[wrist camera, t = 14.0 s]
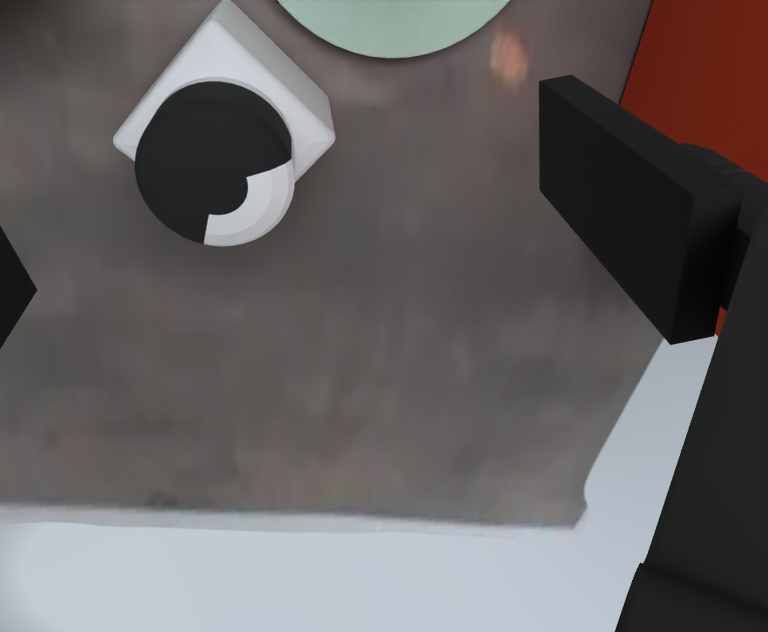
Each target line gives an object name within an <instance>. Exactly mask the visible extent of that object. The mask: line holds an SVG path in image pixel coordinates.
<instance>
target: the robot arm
mask: <svg viewBox="0 0 768 632" xmlns="http://www.w3.org/2000/svg"><path fill="white" fill-rule="evenodd" d="M539 157H540V191H541V192H542V193H543V195H544V196H545V197H546V198H547V199H548V201H549V202H550V203H551V204H552V205H553V207H554V208H555V209H556V210H557V211H558V212H559V214H560V215H561V216H562V217H563V218H564V220H565V221H566V222H567V223H568V224H569V225H570V227H571V228H572V229H573V230H574V231H575V233H576V234H577V235H578V236H579V237H580V239H581V240H582V241H583V242H584V243H585V244H586V246H587V247H588V248H589V249H590V250H591V252H592V253H593V254H594V255H595V256H596V257H597V259H598V260H599V261H600V262H601V263H602V265H603V266H604V267H605V268H606V269H607V270H608V272H609V273H610V274H611V275H612V276H613V278H614V279H615V280H616V281H617V282H618V284H619V285H620V286H621V287H622V288H623V289H624V291H625V292H626V293H627V294H628V295H629V297H630V298H631V299H632V300H633V301H634V302H635V304H636V305H637V306H638V307H639V308H640V310H641V311H642V312H643V313H644V314H645V315H646V317H647V318H648V319H649V320H650V321H651V323H652V324H653V325H654V326H655V327H656V329H657V330H658V331H659V332H660V333H661V334H662V336H663V337H664V338H665V339H666V340H667V342H668V343H669V344H670V345H673V344H678V343H683V342H688V341H693V340H698V339H702V338H707V337H712V336H714V335H715V330H716V325H717V320H718V315H719V310H720V306H721V307H722V308H723V309H724V310H725V311H726V312H727V313H726V316H725V319H724V322H723V325H722V328H721V331H720V334H719V337H718V340H717V343H716V347H715V350H714V353H713V356H712V359H711V362H710V365H709V368H708V371H707V374H706V377H705V380H704V383H703V386H702V389H701V392H700V396H699V398H698V402H697V405H696V408H695V411H694V414H693V417H692V420H691V423H690V426H689V429H688V432H687V435H686V438H685V441H684V445H683V447H682V450H681V453H680V457H679V460H678V463H677V466H676V469H675V472H674V475H673V478H672V481H671V484H670V487H669V490H668V493H667V496H666V500H665V503H664V506H663V509H662V511H661V515H660V518H659V521H658V524H657V527H656V530H655V533H654V536H653V539H652V542H651V545H650V548H649V551H648V554H647V557H646V559H645V561H644V563H640V564H639V566H638V568H637V570H636V572H635V575H634V577H633V580H632V583H631V586H630V589H629V591H628V594H627V597H626V600H625V603H624V606H623V609H622V612H621V615H620V618H619V621H618V624H617V627H616V630H615V632H768V183H766V182H765V181H763V180H761V179H760V178H758V177H757V176H755V175H753V174H752V173H750V172H748V171H744V169H743V168H742V167H740V166H738V165H737V164H735V163H733V162H731V163H730V162H729V159H727V158H725V157H724V156H722V155H720V154H719V153H717V152H715V151H714V150H712V149H708V148H704V147H701V146H697V145H694V144H690V143H683V144H678V143H677V142H675V141H674V140H672V139H670V138H669V137H667V136H666V135H664V134H663V133H661V132H660V131H658V130H656V129H655V128H653V127H652V126H650V125H649V124H647V123H646V122H644V121H642V120H641V119H639V118H638V117H636V116H635V115H633V114H632V113H630V112H628V111H627V110H625V109H624V108H622V107H621V106H619V105H618V104H616V103H614V102H613V101H611V100H610V99H608V98H607V97H605V96H604V95H602V94H601V93H599V92H597V91H596V90H594V89H593V88H591V87H590V86H588V85H587V84H585V83H583V82H582V81H580V80H579V79H577V78H576V77H574V76H573V75H567V76H562V77H557V78H552V79H547V80H542V81H539ZM36 291H37V288H36V287H35V285H34V283H33V281H32V280H31V278H30V276H29V275H28V273H27V271H26V269H25V268H24V266H23V264H22V263H21V261H20V259H19V257H18V256H17V254H16V252H15V250H14V249H13V247H12V245H11V244H10V242H9V240H8V238H7V237H6V235H5V233H4V232H3V230H2V228H1V226H0V348H1V347H2V345H3V344H4V342H5V341H6V339H7V337H8V336H9V334H10V333H11V331H12V329H13V328H14V326H15V325H16V323H17V322H18V320H19V318H20V317H21V315H22V314H23V312H24V310H25V309H26V307H27V306H28V304H29V303H30V301H31V299H32V298H33V296H34V295H35V293H36Z"/></svg>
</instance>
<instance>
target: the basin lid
mask: <svg viewBox="0 0 768 632" xmlns="http://www.w3.org/2000/svg"><path fill="white" fill-rule="evenodd" d="M278 1H279V3H280V4H281V5H282V6H283V8H284V9H285V10H287V11H288V12H289V13H290V14H291V15H292V16H293V17H294V18H295V19H296V20H297V21H298V22H299V23H300V24H302V25H303V26H304V27H306V28H307V29H309V30H310V31H311V32H313V33H314V34H315V35H317V36H319V37H320V38H322V39H324V40H326V41H328V42H329V43H331V44H333V45H335V46H338V47H340V48H343V49H345V50H348V51H351V52H353V53H358V54H362V55H366V56H371V57H380V58H409V57H415V56H420V55H425V54H429V53H432V52H435V51H438V50H441V49H444V48H447V47H449V46H451V45H453V44H455V43H457V42H459V41H461V40H463V39H465V38H466V37H468V36H469V35H471V34H472V33H474V32H475V31H477V30H478V29H480V28H481V27H482V26H484V25H485V24H486V23H487V22H488V21H489V20H491V19H492V18H493V17H494V16H495V15H496V14H498V12H499V11H500V10H501V9H502V8H503V7H504V6H505V5H506V4H507V3H508V2H509V1H510V0H278Z"/></svg>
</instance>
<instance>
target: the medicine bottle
mask: <svg viewBox="0 0 768 632" xmlns="http://www.w3.org/2000/svg"><path fill="white" fill-rule="evenodd" d="M334 141H335V132H334V127H333V121H332V115H331V110H330V104H329V99H328V96H327V95H326V94H325V93H324V92H323V91H322V90H321V89H320V88H319V87H318V86H317V85H316V84H315V83H314V82H313V81H312V80H311V79H310V78H309V77H308V76H307V75H306V74H305V73H304V72H303V71H302V70H301V69H300V68H299V67H298V66H297V65H296V64H295V63H294V62H293V61H292V60H291V59H290V58H289V57H288V56H287V55H286V54H285V53H284V52H283V51H282V50H281V49H280V48H279V47H278V46H277V45H276V44H275V43H274V42H273V41H272V40H271V39H270V38H269V37H268V36H267V35H266V34H265V33H264V32H263V31H262V30H261V29H260V28H259V27H258V26H257V25H256V24H255V23H254V22H253V21H252V20H251V19H250V18H249V17H248V16H247V15H246V14H245V13H244V12H243V11H242V10H240V9H239V8H238V7H237V6H236V5H235V4H234V3H233V2H232V1H231V0H221V1H220V2H219V3H218V4H217V6H216V7H215V8H214V9H213V11H212V12H211V13H210V14H209V15H208V17H207V18H206V19H205V20H204V22H203V23H202V24H201V25H200V27H199V28H198V29H197V30H196V31H195V33H194V34H193V35H192V36H191V38H190V39H189V40H188V41H187V43H186V44H185V45H184V46H183V48H182V49H181V50H180V51H179V52H178V54H177V55H176V56H175V57H174V59H173V60H172V61H171V62H170V64H169V65H168V66H167V67H166V68H165V70H164V71H163V72H162V73H161V75H160V76H159V77H158V78H157V80H156V81H155V82H154V83H153V85H152V86H151V87H150V88H149V89H148V91H147V92H146V93H145V94H144V96H143V97H142V98H141V100H140V101H139V102H138V104H137V105H136V107H135V108H134V109H133V111H132V112H131V113H130V115H129V116H128V117H127V119H126V120H125V122H124V123H123V124H122V126H121V127H120V128H119V130H118V131H117V132H116V134H115V135H114V138H113V143H114V145H115V147H116V148H117V149H119V150H120V151H121V152H123V153H124V154H125V155H127V156H128V157H129V158H131V159H132V160H133V161H134V162H135V174H136V180H137V184H138V187H139V190H140V193H141V195H142V197H143V199H144V201H145V202H146V204H147V206H148V207H149V209H150V210H151V211H152V212H153V214H154V215H155V216H156V217H157V218H158V219H159V220H160V221H161V222H162V223H163V224H164V225H165V226H167V227H168V228H169V229H171V230H172V231H174V232H175V233H177V234H179V235H181V236H182V237H184V238H187V239H189V240H192V241H194V242H198V243H201V244H206V245H212V246H235V245H240V244H244V243H247V242H250V241H253V240H255V239H257V238H259V237H261V236H263V235H265V234H266V233H267V232H269V231H270V230H271V229H273V228H274V227H275V226H276V225H277V224H278V223H279V221H280V220H281V219H282V218H283V216H284V215H285V213H286V211H287V210H288V208H289V205H290V203H291V200H292V196H293V192H294V183H295V182H296V181H297V180H298V179H299V178H300V177H301V176H302V175H303V174H304V173H305V172H306V171H307V170H308V169H309V168H310V167H311V166H312V165H313V164H314V163H315V162H316V161H317V160H318V159H319V158H320V157H321V156H322V155H323V154H324V153H325V152H326V151H327V150H328V149H329V148H330V147H331V146H332V144H333V143H334Z"/></svg>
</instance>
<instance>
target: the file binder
mask: <svg viewBox="0 0 768 632" xmlns="http://www.w3.org/2000/svg"><path fill="white" fill-rule="evenodd" d="M620 106H621V107H622V108H624V109H625V110H627V111H628V112H630V113H632V114H633V115H635V116H636V117H638V118H639V119H641V120H642V121H644V122H646V123H647V124H649V125H650V126H652V127H653V128H655V129H656V130H658V131H660V132H661V133H663V134H664V135H666V136H667V137H669V138H670V139H672V140H674V141H675V142H677V143H678V144H683V143H690V144H694V145H697V146H701V147H704V148H708V149H712V150H714V151H715V152H717V153H719V154H720V155H722V156H724V157H725V158H727V159H729V162H730V163H731V162H733V163H735V164H737V165H738V166H740V167H742V168H743V169H744V171H748V172H750V173H752V174H753V175H755V176H757V177H758V178H760V179H761V180H763V181H765V182H766V183H768V0H654V2H653V5H652V8H651V11H650V14H649V17H648V20H647V23H646V26H645V29H644V32H643V35H642V38H641V42H640V45H639V48H638V51H637V54H636V57H635V60H634V63H633V66H632V69H631V72H630V75H629V79H628V82H627V85H626V88H625V91H624V94H623V97H622V100H621V103H620ZM726 313H727V312H726V311H725V310H724V309H723V308H722V307H721V306H720V310H719V315H718V320H717V325H716V330H715V334H716V335H717V336H718V337H719V334H720V331H721V328H722V325H723V322H724V319H725V316H726Z"/></svg>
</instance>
